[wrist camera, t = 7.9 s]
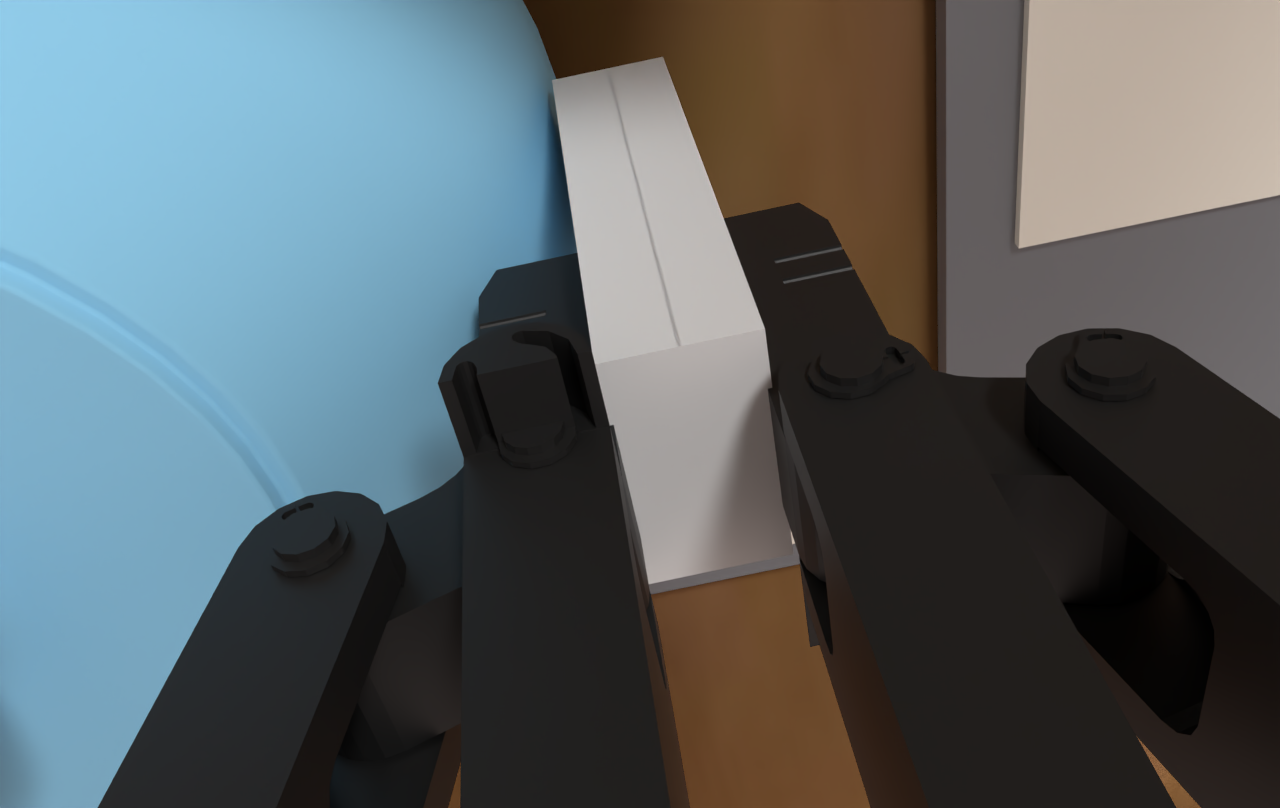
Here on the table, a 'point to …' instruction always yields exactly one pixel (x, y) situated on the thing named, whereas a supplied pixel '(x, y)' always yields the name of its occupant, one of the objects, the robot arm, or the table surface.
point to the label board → (1104, 186)
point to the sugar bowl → (229, 308)
